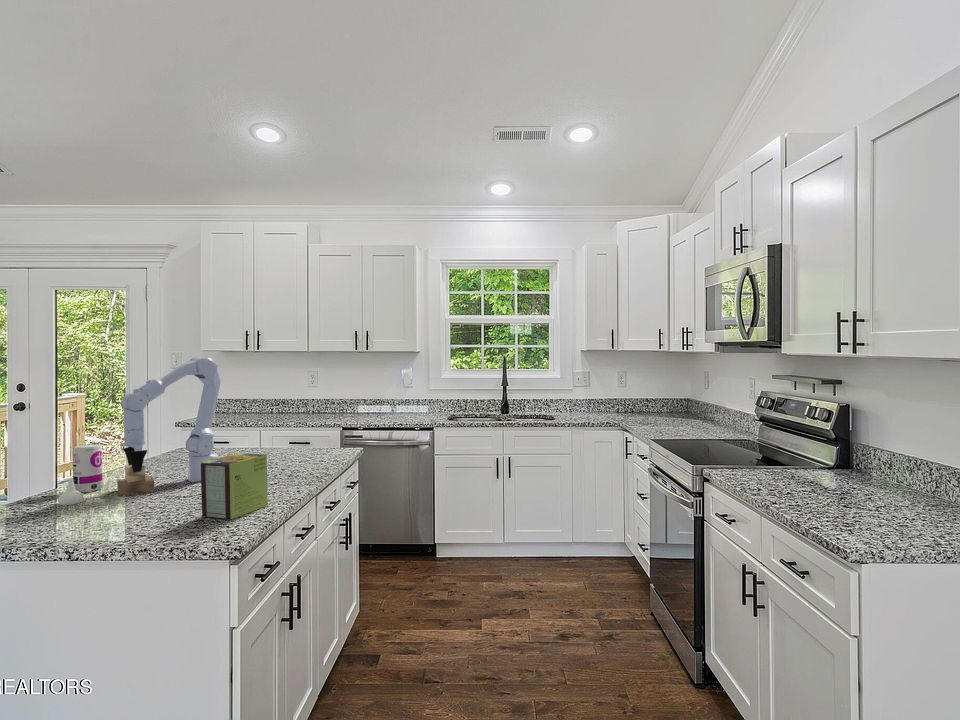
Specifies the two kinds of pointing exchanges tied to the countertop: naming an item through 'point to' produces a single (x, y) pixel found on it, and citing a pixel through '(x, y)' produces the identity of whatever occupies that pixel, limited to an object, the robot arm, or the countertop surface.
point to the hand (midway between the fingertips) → (135, 469)
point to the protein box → (234, 485)
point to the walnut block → (135, 486)
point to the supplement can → (87, 468)
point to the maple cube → (134, 474)
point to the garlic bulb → (70, 495)
